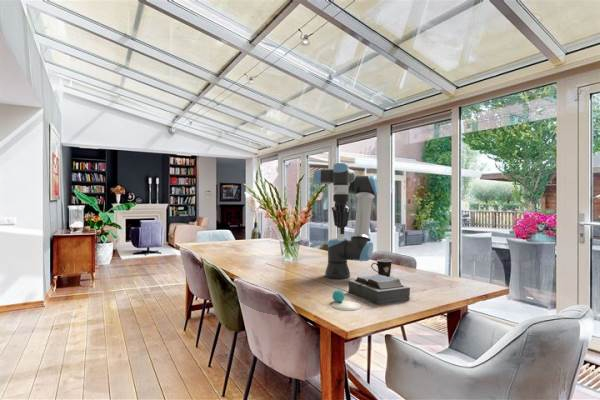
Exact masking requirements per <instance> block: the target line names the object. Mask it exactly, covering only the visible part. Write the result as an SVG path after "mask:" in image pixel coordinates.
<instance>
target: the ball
mask: <svg viewBox="0 0 600 400" xmlns="http://www.w3.org/2000/svg"><path fill="white" fill-rule="evenodd" d="M345 296H346V295H345V293H344V291H343V290H340V289H335V290H334V292H333V293H332V299H333V301H334V302H342V301H345Z"/></svg>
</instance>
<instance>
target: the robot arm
mask: <svg viewBox="0 0 600 400" xmlns="http://www.w3.org/2000/svg"><path fill="white" fill-rule="evenodd" d="M312 176H313V181H314V183H315V184H325V185H327V186H331V187H333V188H332V189H333V191H332V192H333V196H332V197H333V199H332V200H333V202H334V206H333V207H331V211H332V216H333V222H334V226H335V227H336V228H337V230H336V231H337V232H336V233H337V238H331V239H329V240H328V242H327V264H326V265H327V266H326V268H325V273H324V277H326V278H328V279H335V280H342V279H344V280H345V279H349V278H350V277H351V272H350V269H349V265H348V261H354V262H355V261H357V262H368V261H370V260H371V258H372V255H373V253H374V243H373V241H371V240H372V239H371V238H370V237H369V236H370V235H369V232H370V223H371V212H372V202H373V199H375V195H377V194H379V185H378V180H377V177H376V176H375V175H356V172H355V171H354V170H353V169H352V168H349V164H348V163H346V162H338V163H337V162H336V163H334V164H333V166H332V169H331V168H330V169H328V168H327V169H316V170H314V172H313V175H312ZM348 194H350V195H355V197H356V198H357V203H356V211H355V212H356V213H355V215H356V216H355V223H354V232H353V235H352V236H351V237H350V240H348V237H345V228H346V227H348V224H349V216H350V211H351V208H350V207H348V203H347V202H349V195H348Z"/></svg>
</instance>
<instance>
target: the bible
mask: <svg viewBox="0 0 600 400" xmlns="http://www.w3.org/2000/svg"><path fill="white" fill-rule="evenodd" d="M347 290H348V293H349V294H352V295H355V296H356V297H359V298H361V299H363V300H366V301H368V302H370V303H372V304H375V305H379V306H380V305H381V306H382V305H387V303H388V304H392V303H393V304H394V303H399V302H406V301H410V300H411V299H410V296H411V292H410V291H411V287H410V286H407V285H404V284H402V283H401V279H400V278H399V277H394V276H390V277H386V276H382V275H379V274H378V273H377V274H375V275H370V276H357V277H356V279H349V280H348V289H347Z"/></svg>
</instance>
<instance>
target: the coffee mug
mask: <svg viewBox="0 0 600 400" xmlns="http://www.w3.org/2000/svg"><path fill="white" fill-rule="evenodd" d="M373 265H376V266H377V270H376V269H375V268H374V267H373ZM371 269H372V270H373V271H374V272H376V273H377V275H378V274H379V275H382V276H386V277H391V271H392V260H391V259H385V258H384V259H383V258H382V259H377V260H376V262H373V263H372V264H371Z"/></svg>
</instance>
